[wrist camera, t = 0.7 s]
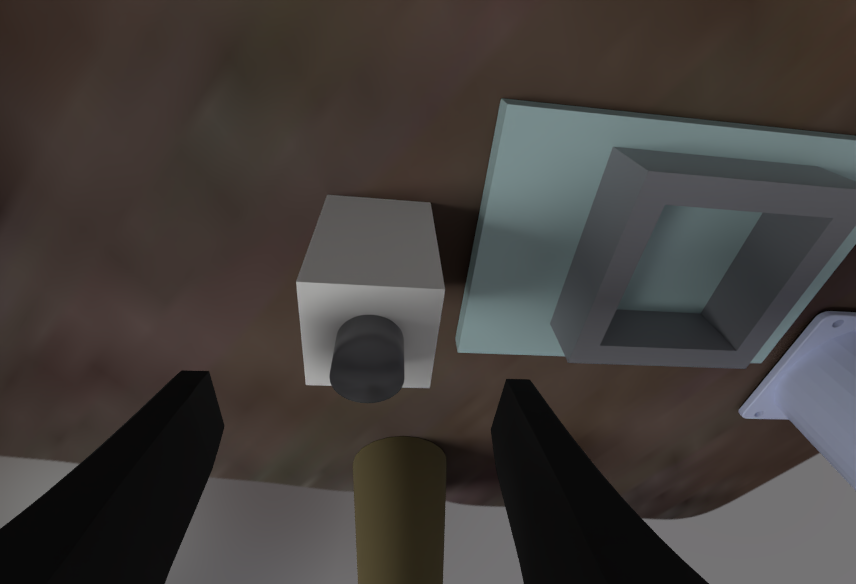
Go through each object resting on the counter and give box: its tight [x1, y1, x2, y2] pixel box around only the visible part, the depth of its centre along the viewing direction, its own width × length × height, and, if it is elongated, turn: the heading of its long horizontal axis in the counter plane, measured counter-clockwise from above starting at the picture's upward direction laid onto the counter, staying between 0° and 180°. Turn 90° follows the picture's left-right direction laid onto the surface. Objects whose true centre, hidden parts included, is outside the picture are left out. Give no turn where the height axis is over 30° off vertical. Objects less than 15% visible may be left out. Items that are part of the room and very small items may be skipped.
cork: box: [353, 436, 447, 584], centre depth 22 cm, size 6×6×11 cm
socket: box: [455, 98, 856, 369], centre depth 17 cm, size 16×11×4 cm
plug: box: [296, 195, 445, 403], centre depth 14 cm, size 4×4×8 cm
